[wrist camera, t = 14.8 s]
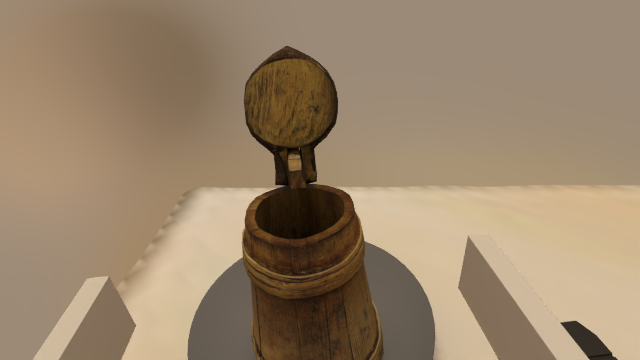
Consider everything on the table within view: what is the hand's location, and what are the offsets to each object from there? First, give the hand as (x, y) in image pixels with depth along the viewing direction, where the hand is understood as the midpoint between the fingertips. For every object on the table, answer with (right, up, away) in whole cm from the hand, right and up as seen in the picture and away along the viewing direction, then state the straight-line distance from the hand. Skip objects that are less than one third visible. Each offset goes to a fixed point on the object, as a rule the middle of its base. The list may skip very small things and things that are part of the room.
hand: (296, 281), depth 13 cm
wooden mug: (+1, -6, +13) cm, 14 cm away
